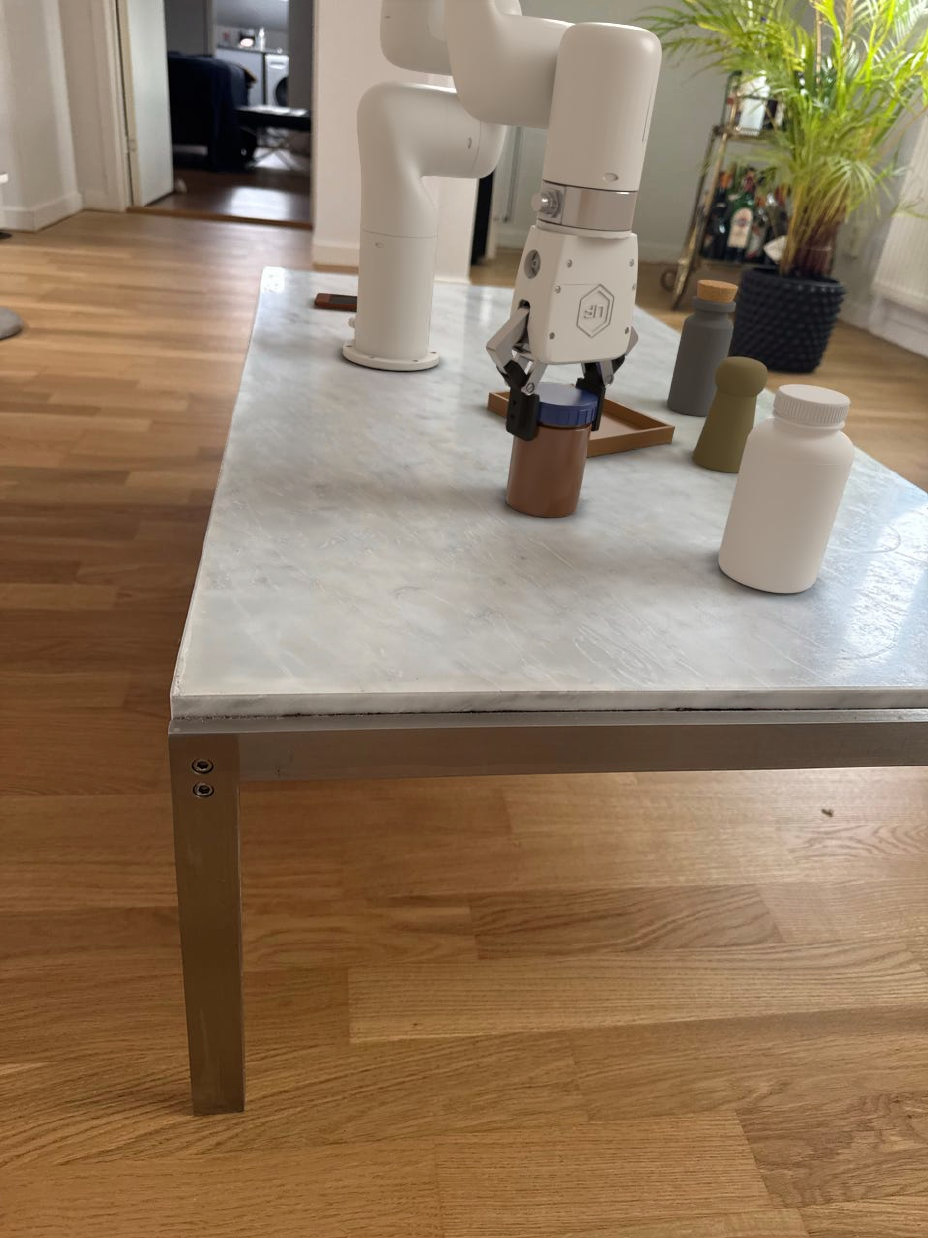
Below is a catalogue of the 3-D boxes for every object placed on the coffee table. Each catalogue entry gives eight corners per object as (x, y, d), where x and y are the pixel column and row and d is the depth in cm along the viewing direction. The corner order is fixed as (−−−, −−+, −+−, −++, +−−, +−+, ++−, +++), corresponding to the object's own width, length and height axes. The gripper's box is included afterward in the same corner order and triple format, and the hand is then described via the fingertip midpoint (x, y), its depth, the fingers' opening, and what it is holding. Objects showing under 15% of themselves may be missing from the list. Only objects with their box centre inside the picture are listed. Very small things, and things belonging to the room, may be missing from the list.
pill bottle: (702, 549, 80) (746, 374, 73) (792, 554, 81) (844, 382, 74) (733, 593, 73) (785, 405, 66) (830, 598, 74) (892, 413, 67)
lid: (611, 420, 81) (614, 401, 80) (550, 429, 77) (553, 409, 76) (559, 397, 86) (562, 378, 85) (499, 404, 82) (502, 385, 81)
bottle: (714, 419, 115) (744, 291, 107) (666, 411, 115) (693, 283, 108) (713, 406, 120) (742, 283, 112) (666, 398, 120) (692, 276, 113)
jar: (490, 495, 86) (503, 393, 81) (545, 484, 90) (560, 387, 85) (536, 522, 82) (553, 417, 77) (592, 510, 85) (611, 409, 81)
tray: (487, 408, 109) (488, 392, 108) (570, 398, 116) (572, 382, 115) (586, 457, 98) (589, 440, 97) (671, 442, 105) (675, 426, 104)
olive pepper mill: (716, 474, 97) (743, 368, 92) (679, 454, 102) (703, 351, 96) (760, 470, 100) (788, 366, 94) (722, 450, 104) (747, 350, 99)
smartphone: (412, 309, 146) (314, 300, 144) (411, 316, 146) (313, 307, 145) (411, 300, 152) (317, 291, 150) (410, 306, 152) (317, 297, 151)
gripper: (531, 216, 66) (500, 458, 75) (696, 220, 76) (652, 434, 85) (468, 200, 71) (446, 428, 80) (630, 205, 81) (595, 409, 90)
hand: (552, 429), depth 82 cm, fingers closed on lid, 6 cm apart
